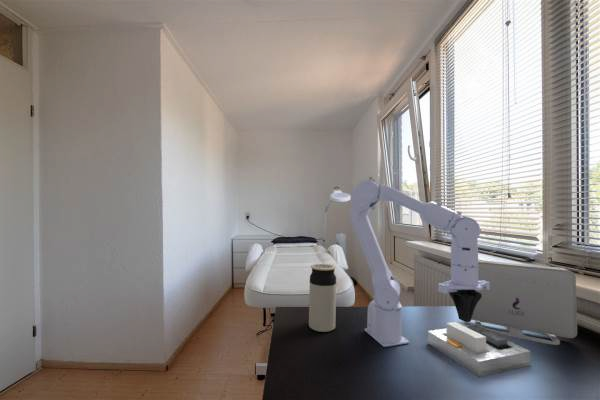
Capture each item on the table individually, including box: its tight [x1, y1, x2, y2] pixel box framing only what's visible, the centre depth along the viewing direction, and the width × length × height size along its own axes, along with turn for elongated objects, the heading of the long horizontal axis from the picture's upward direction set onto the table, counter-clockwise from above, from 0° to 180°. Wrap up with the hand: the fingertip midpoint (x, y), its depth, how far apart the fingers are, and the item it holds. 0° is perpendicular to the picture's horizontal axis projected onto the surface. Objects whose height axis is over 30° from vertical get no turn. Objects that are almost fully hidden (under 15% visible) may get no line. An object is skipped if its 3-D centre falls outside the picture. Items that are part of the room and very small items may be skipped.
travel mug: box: [308, 263, 337, 333], centre depth 75 cm, size 8×8×18 cm
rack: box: [427, 324, 532, 378], centre depth 62 cm, size 14×16×5 cm
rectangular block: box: [446, 321, 486, 354], centre depth 61 cm, size 8×3×6 cm, turn 17°
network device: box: [471, 259, 578, 346], centre depth 75 cm, size 26×9×20 cm, turn 62°
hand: (464, 320), depth 61 cm, fingers closed
